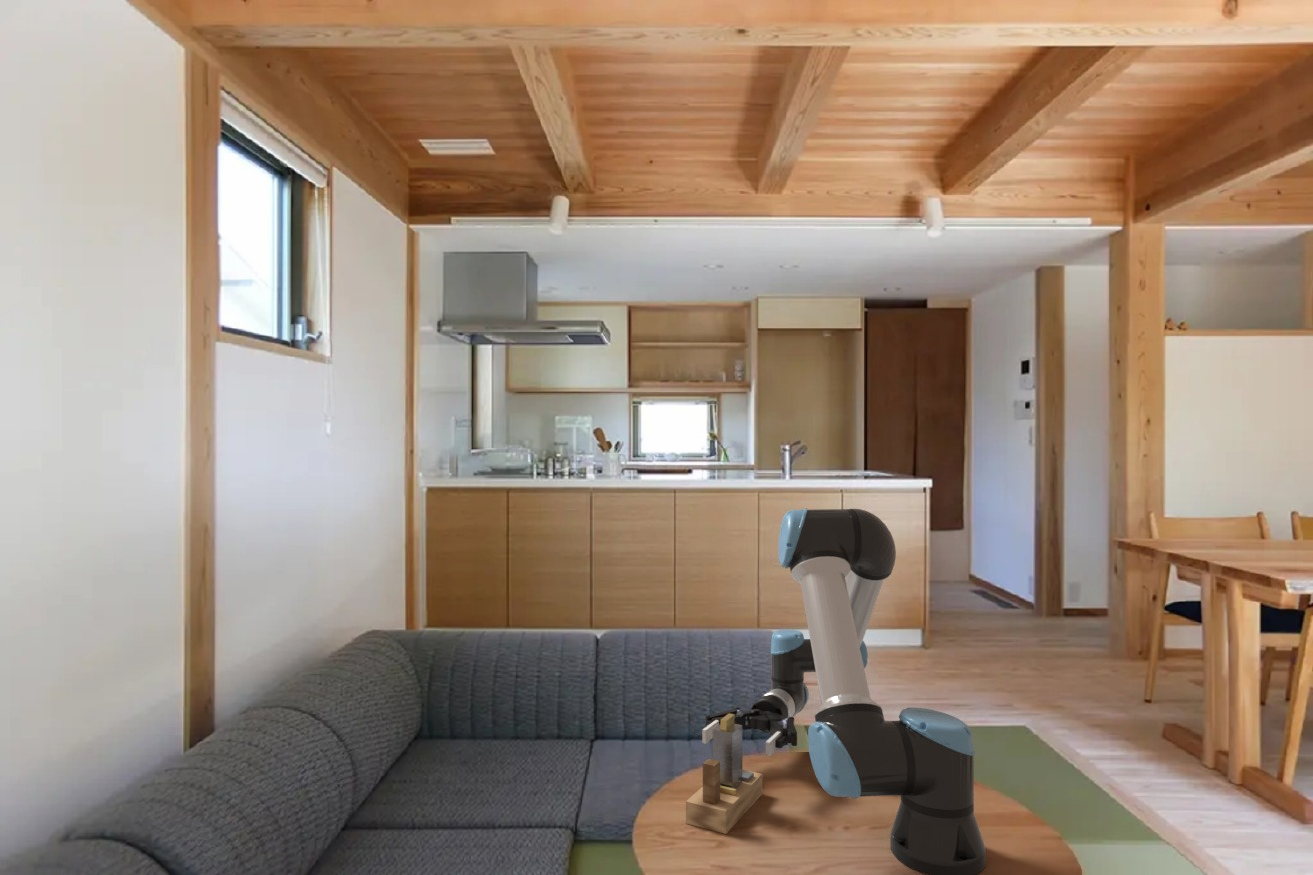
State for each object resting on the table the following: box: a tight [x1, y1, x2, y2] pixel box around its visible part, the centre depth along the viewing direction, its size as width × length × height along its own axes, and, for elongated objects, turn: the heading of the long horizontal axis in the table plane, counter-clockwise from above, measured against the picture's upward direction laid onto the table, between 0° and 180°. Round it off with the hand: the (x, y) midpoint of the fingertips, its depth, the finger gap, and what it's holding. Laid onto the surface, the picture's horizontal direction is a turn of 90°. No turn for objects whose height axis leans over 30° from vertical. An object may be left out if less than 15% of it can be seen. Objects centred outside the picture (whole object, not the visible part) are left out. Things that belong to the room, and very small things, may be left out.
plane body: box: [685, 758, 763, 835], centre depth 145 cm, size 8×18×11 cm, turn 151°
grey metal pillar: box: [712, 714, 743, 789], centre depth 145 cm, size 4×5×13 cm
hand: (734, 742), depth 150 cm, fingers open, 13 cm apart
